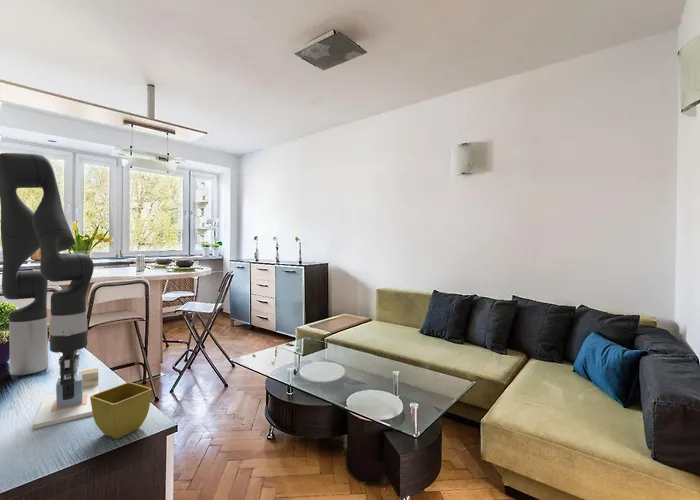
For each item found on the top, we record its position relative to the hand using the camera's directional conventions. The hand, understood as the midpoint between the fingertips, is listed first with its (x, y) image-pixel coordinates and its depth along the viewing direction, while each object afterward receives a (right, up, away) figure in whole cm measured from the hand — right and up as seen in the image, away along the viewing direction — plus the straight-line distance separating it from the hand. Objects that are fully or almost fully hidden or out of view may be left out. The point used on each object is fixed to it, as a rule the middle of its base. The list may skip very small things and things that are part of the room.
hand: (69, 392), depth 89 cm
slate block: (0, -2, 0) cm, 3 cm away
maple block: (-4, -3, +12) cm, 13 cm away
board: (0, -4, 0) cm, 4 cm away
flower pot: (+21, -4, -12) cm, 25 cm away
